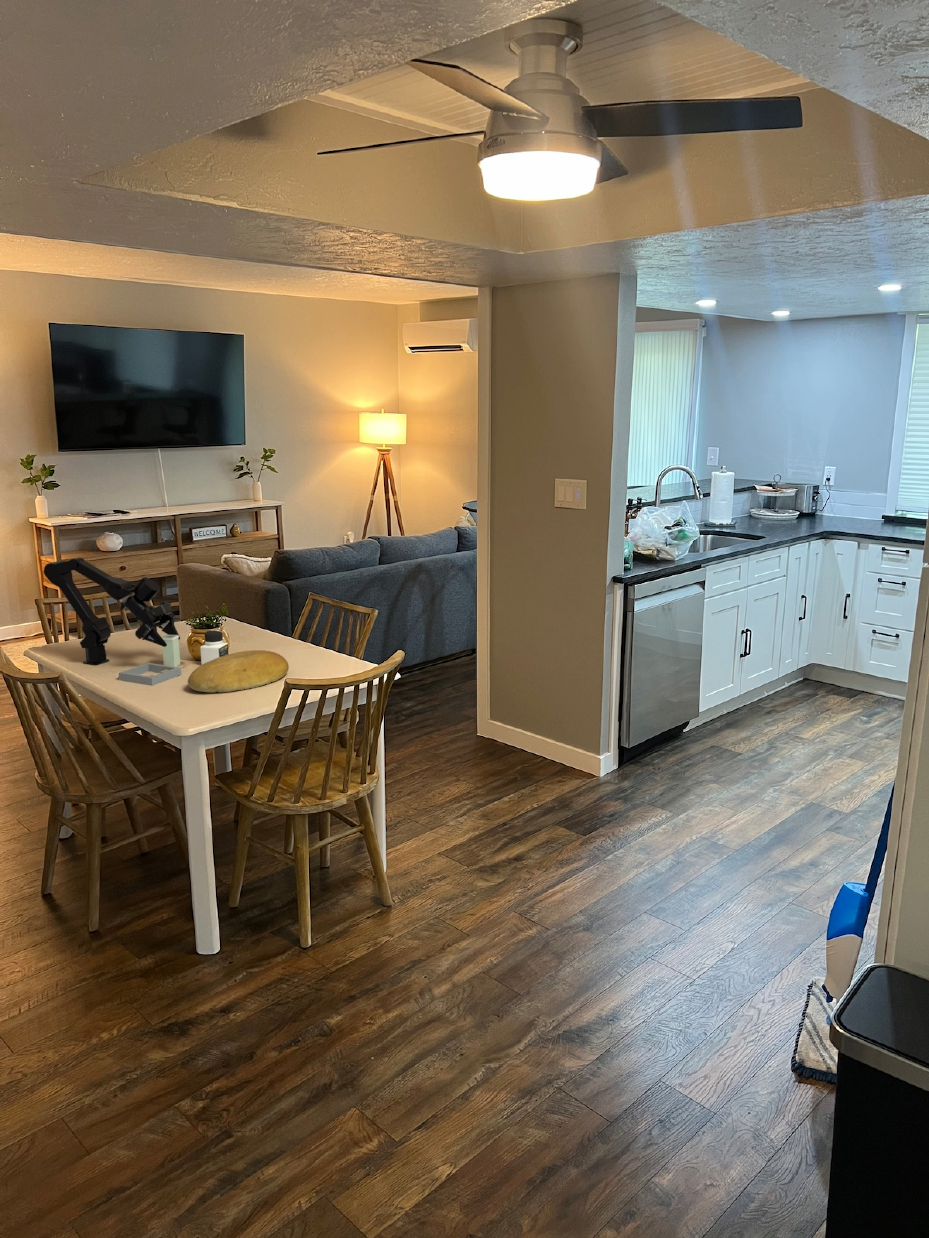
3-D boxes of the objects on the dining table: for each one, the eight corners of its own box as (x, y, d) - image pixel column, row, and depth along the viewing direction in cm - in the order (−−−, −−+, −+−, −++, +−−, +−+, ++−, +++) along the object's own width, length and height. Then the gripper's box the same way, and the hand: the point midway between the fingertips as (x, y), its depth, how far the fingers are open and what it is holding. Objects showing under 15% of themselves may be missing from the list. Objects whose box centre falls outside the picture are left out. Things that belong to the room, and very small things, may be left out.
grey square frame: (119, 680, 303) (118, 672, 303) (148, 669, 315) (148, 662, 315) (152, 685, 297) (151, 678, 297) (181, 674, 309) (180, 667, 309)
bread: (178, 689, 294) (176, 659, 292) (268, 666, 319) (267, 639, 317) (210, 701, 282) (208, 670, 280) (301, 677, 307) (300, 648, 305)
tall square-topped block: (163, 666, 317) (161, 637, 315) (169, 663, 321) (167, 634, 319) (174, 667, 316) (172, 638, 314) (180, 664, 321) (178, 635, 318)
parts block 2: (160, 677, 307) (160, 671, 307) (166, 675, 310) (166, 669, 309) (167, 678, 306) (167, 672, 305) (173, 676, 309) (173, 670, 308)
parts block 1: (145, 683, 301) (144, 677, 300) (151, 680, 304) (151, 674, 303) (152, 684, 300) (151, 678, 299) (158, 681, 302) (158, 675, 302)
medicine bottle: (220, 667, 318) (218, 634, 315) (201, 666, 319) (198, 633, 316) (229, 661, 325) (227, 629, 322) (210, 660, 326) (208, 628, 323)
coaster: (149, 668, 317) (149, 667, 317) (170, 661, 325) (170, 660, 325) (172, 671, 312) (171, 670, 312) (192, 664, 321) (192, 663, 321)
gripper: (140, 600, 305) (173, 634, 305) (168, 589, 323) (199, 621, 323) (121, 622, 308) (153, 655, 309) (150, 610, 326) (180, 641, 327)
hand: (172, 642), depth 317 cm, fingers open, 9 cm apart
